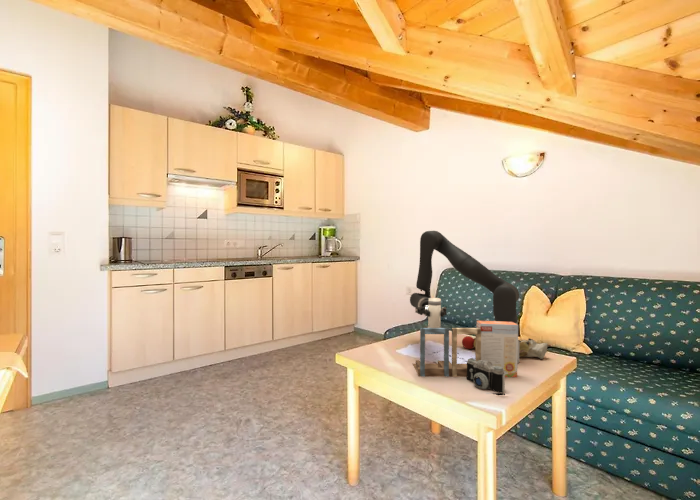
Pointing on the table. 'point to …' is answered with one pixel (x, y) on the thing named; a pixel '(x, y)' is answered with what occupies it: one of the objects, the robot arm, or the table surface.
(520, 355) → the ceramic sculpture
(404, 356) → the table surface
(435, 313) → the white cylinder
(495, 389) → the camera
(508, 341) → the cracker box
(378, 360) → the table surface
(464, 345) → the kendama
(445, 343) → the wooden rack
